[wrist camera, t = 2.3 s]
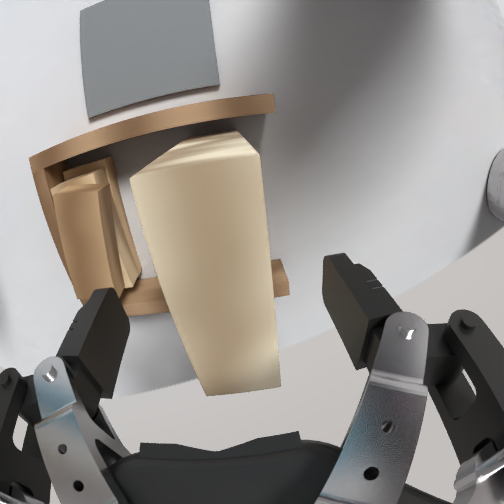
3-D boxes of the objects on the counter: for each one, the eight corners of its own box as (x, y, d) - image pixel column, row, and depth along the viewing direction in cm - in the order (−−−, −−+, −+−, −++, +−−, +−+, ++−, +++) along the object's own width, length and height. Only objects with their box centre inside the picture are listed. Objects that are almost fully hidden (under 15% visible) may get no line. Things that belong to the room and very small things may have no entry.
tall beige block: (236, 129, 18) (259, 155, 7) (252, 252, 23) (281, 386, 12) (188, 137, 18) (129, 178, 7) (211, 258, 23) (206, 396, 11)
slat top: (109, 182, 16) (97, 191, 14) (124, 286, 19) (117, 302, 18) (67, 186, 15) (52, 194, 13) (86, 283, 19) (77, 298, 17)
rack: (264, 97, 17) (273, 93, 14) (281, 270, 24) (289, 295, 21) (52, 149, 16) (28, 158, 13) (102, 295, 23) (90, 318, 20)
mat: (205, -25, 11) (205, -27, 11) (219, 85, 16) (219, 84, 16) (82, 12, 11) (80, 10, 11) (90, 117, 16) (88, 118, 16)
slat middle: (104, 167, 17) (93, 173, 15) (139, 272, 21) (132, 286, 19) (63, 181, 17) (50, 189, 15) (99, 279, 21) (91, 293, 19)
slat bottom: (114, 154, 18) (104, 158, 17) (143, 265, 23) (138, 277, 21) (74, 166, 18) (62, 172, 16) (106, 270, 23) (98, 282, 21)
